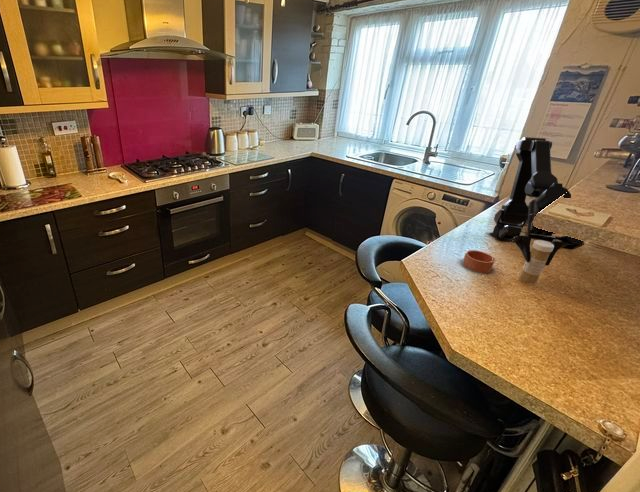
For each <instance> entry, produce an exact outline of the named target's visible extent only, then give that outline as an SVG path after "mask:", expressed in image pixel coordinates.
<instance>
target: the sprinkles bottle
mask: <svg viewBox="0 0 640 492" xmlns="http://www.w3.org/2000/svg"><path fill="white" fill-rule="evenodd" d="M553 248H554V245H553V244H552V243H550V242H548V241H543V240H536V239H534V241H533V243H532V246H531V248H530V261H529V262H526V261H525V262H524V264H523V267H522V269H521V271H520V274H519V275H518V278H519V280H520V281H522V282H524V283H527V284H530V285H531V284H532V285H535V284H537V283H538V281H539V278H540V276H541V275H542V272H543V271H544V268H545V266H546V265H545V264H546V262H547V259H548V257H549V255H550V253H551V252H552V251H553Z"/></svg>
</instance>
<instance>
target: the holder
mask: <svg viewBox="0 0 640 492" xmlns="http://www.w3.org/2000/svg"><path fill="white" fill-rule="evenodd" d="M495 261H496V260H495V257H493V255H491V254H489V253H487V252H484V251H480V250H477V249H470V250H466V251H465V254H464V256H463V260H462V265H463V267H465V268H466V269H468V270H470V271H473V272H476V273H480V274H481V273H482V274H487V273H490V272H491V271H492V269H493V266H494V264H495Z"/></svg>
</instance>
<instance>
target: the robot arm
mask: <svg viewBox="0 0 640 492" xmlns="http://www.w3.org/2000/svg"><path fill="white" fill-rule="evenodd" d="M552 147H553V141H549V140H547V139H546V137H528V136H523V137H522V138H521V139H518V140H517V142H516V145H515V149H516V152H515V156H516V158H517V159H518V166H517V169H516V172H515V173H516V174H515V177H514V180H513V184H512V188H511V192H510V195H509V199H508V200H507V201H505V202H504V203H503V204H502V205H501V208H499V210H498V211H497V212H496V213H495V214H494V218H493V221H494V222H495V225H494V228H493V230H492V232H489V235H490V236H492V237H494V238H495V239H497V240H498V241H499V242H512V243H513V244H515V245H516V246H517V247H518V249H519V251H520V252H521V253H522V254H521V255H522V256H523V258H524V260H525V262H529V261H530V252H531V242H532V240H543V241H547V242H550V243H552V244H553V245H554V248H553V251H552V252H551V253H550V255H549V257H548V259H547V262H546V264H545V266H547V267H548V266H550V263H552V260H553V259H554V256H555V255H556V253H557V252H558V251H559V250H561V249H562V250H569V251H574V250H576V249H579V248H581V247H583V246H585V240H584V241H581V240H578V239H575V238H571V237H568V236H563V235H562V236H556V234H557V233H553V232H548V231H545V230H542V229H538V228H536V227H534V226H533V221H534V217H535V216H536V214H537V213H538V212H540V211H541V210H542V209H544V208H545V207H546V206H548V205H549V204H551V203H552V202H553V201H555V200H556V199H558V198H559V197H560V196H562V195H563V194H565V195H564V196H563V197H564V198H570V199H571V198H572V193H571V192H570V191H569V189H567V188H566V187H564V186H563V183H559V180H558V177H557V176H555V175H554V174H553V173H552V172H553V171H552V159H551V158H552V157H551V150H552ZM566 192H567V193H566ZM526 196H529V197H536V199H533V200H532V201H530V202H529V205H528V206H527V204H526V202H525V199H526ZM525 224H527V225H526V226H527V227H526V230H522V229H523V228H524V227H525Z"/></svg>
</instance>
